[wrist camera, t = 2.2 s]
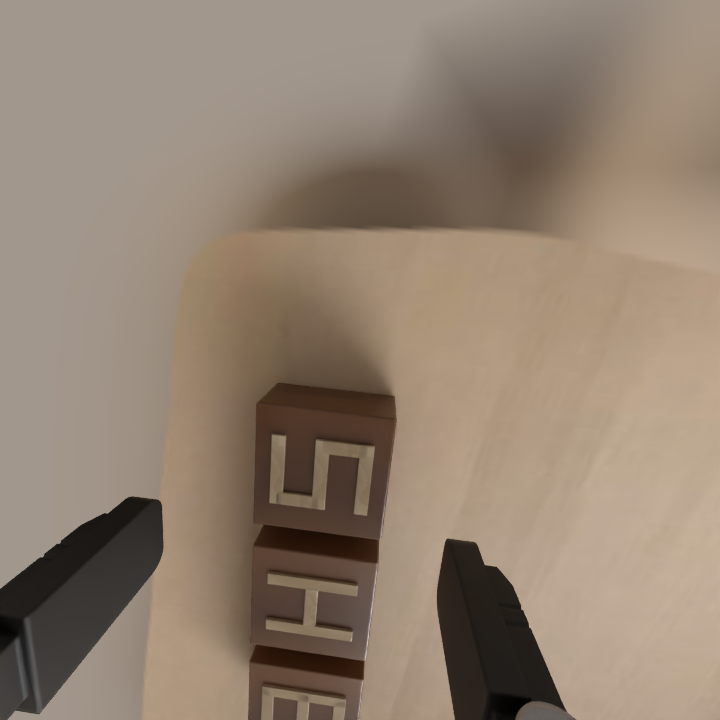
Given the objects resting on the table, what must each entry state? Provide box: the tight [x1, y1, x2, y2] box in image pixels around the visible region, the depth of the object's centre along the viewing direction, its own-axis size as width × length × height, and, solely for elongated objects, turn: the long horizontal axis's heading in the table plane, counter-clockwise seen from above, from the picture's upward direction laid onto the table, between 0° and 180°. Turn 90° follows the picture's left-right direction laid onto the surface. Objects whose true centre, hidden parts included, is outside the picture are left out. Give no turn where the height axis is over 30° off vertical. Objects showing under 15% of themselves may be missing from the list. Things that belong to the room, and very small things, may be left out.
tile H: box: [250, 525, 379, 661], centre depth 15 cm, size 5×5×3 cm
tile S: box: [254, 383, 396, 540], centre depth 14 cm, size 5×5×3 cm
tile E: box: [248, 645, 365, 720], centre depth 17 cm, size 5×5×3 cm
